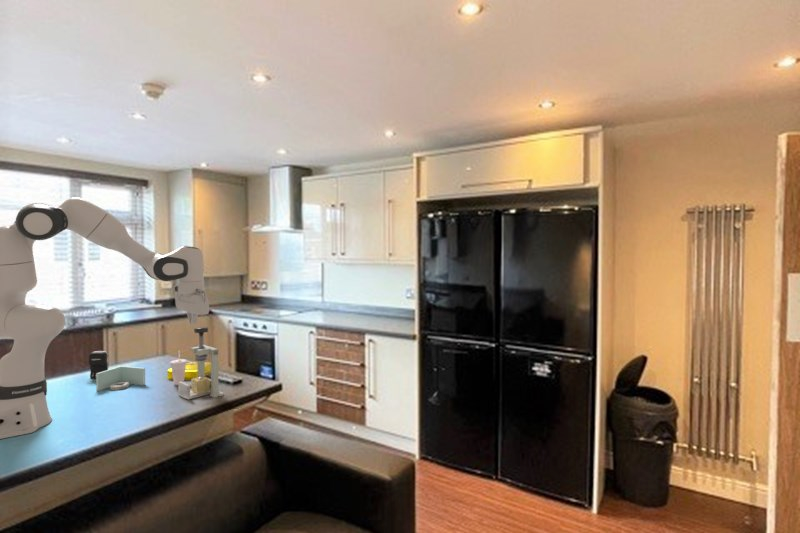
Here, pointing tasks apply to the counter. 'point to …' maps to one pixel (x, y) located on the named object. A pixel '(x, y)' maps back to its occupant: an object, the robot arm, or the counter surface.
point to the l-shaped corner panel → (120, 378)
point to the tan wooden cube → (200, 384)
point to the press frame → (214, 367)
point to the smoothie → (178, 369)
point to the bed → (190, 391)
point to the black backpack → (98, 362)
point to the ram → (201, 342)
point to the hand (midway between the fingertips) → (192, 323)
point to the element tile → (191, 370)
